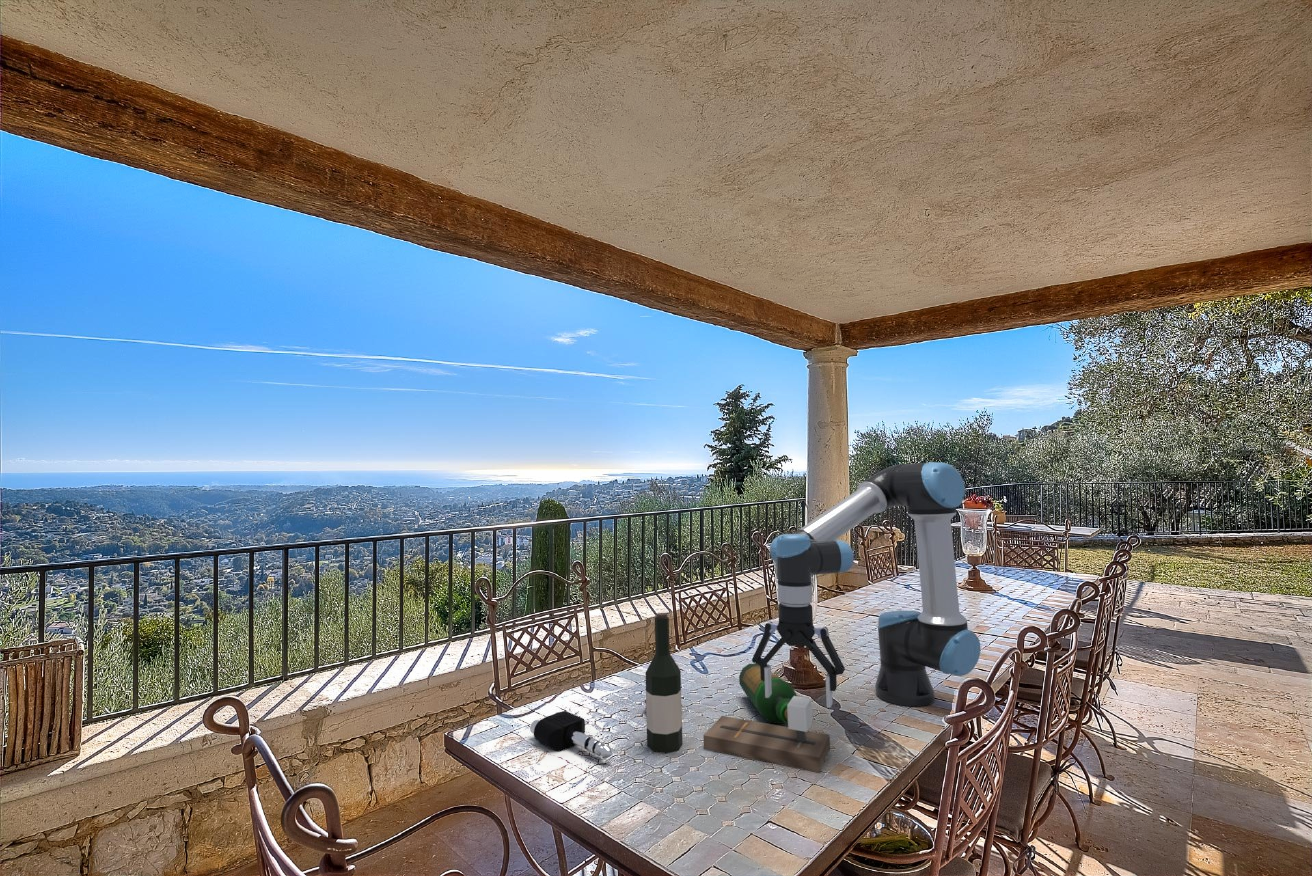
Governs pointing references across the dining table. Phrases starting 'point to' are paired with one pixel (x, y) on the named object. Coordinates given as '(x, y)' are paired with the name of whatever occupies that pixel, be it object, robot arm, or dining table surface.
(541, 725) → the audio adapter
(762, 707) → the bottle
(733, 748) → the fader board
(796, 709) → the fader knob
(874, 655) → the dining table surface
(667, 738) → the wine bottle
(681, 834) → the dining table surface
